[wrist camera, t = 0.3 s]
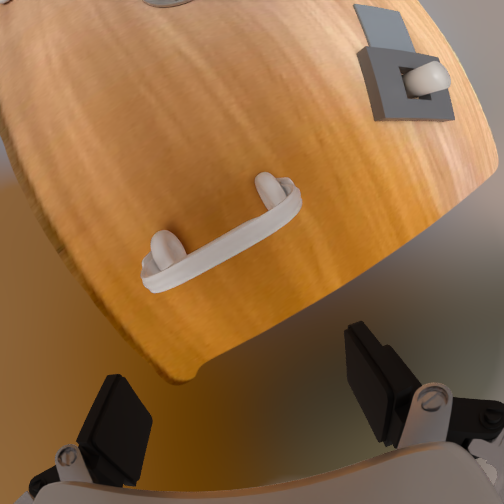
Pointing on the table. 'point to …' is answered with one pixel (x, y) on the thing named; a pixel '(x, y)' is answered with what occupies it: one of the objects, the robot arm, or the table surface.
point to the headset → (220, 238)
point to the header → (400, 87)
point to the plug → (426, 80)
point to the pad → (384, 28)
